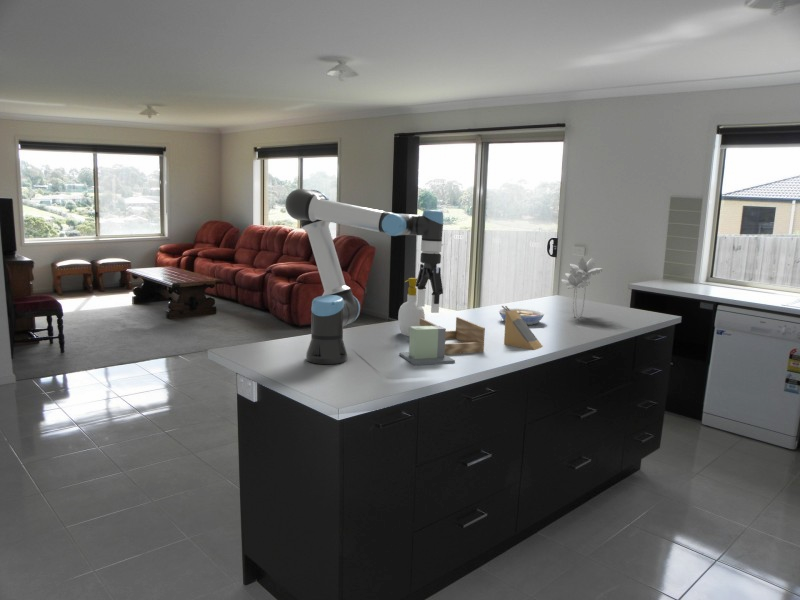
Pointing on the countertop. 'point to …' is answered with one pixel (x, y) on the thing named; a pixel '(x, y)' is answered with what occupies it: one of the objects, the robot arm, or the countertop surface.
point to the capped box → (427, 342)
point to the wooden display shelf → (463, 337)
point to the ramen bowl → (524, 314)
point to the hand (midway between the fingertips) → (427, 309)
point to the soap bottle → (410, 310)
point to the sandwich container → (519, 332)
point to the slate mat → (426, 359)
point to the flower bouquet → (580, 277)
